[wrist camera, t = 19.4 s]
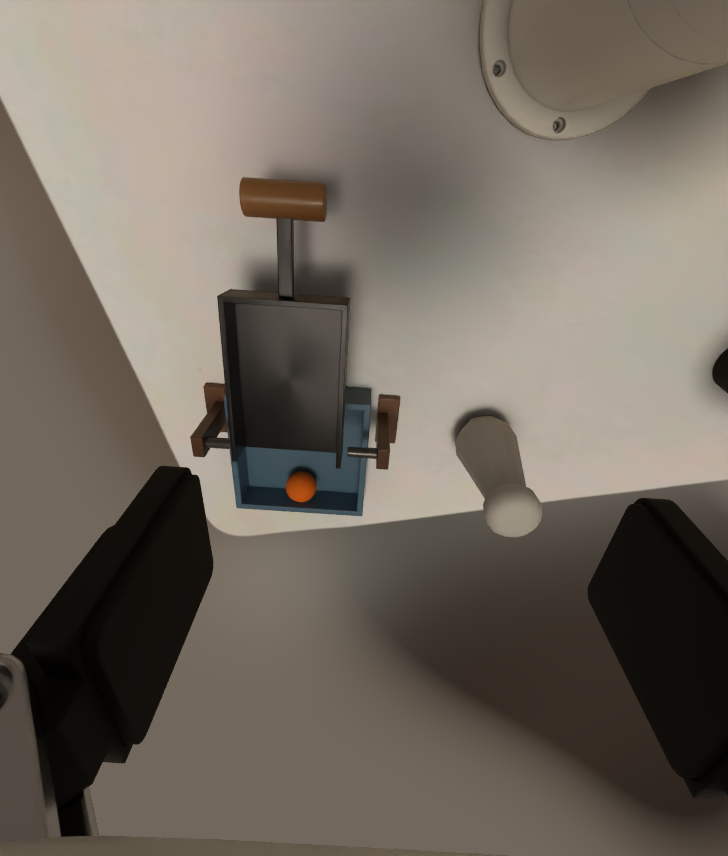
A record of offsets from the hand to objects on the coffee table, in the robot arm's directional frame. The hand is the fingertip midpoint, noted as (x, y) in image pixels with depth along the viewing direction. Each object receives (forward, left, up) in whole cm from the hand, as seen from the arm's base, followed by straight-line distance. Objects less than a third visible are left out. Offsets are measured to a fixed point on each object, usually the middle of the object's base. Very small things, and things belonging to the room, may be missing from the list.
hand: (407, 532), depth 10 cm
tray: (+17, -7, -30) cm, 36 cm away
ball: (+22, -7, -28) cm, 36 cm away
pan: (+4, -7, -25) cm, 26 cm away
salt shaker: (+15, +11, -31) cm, 36 cm away
